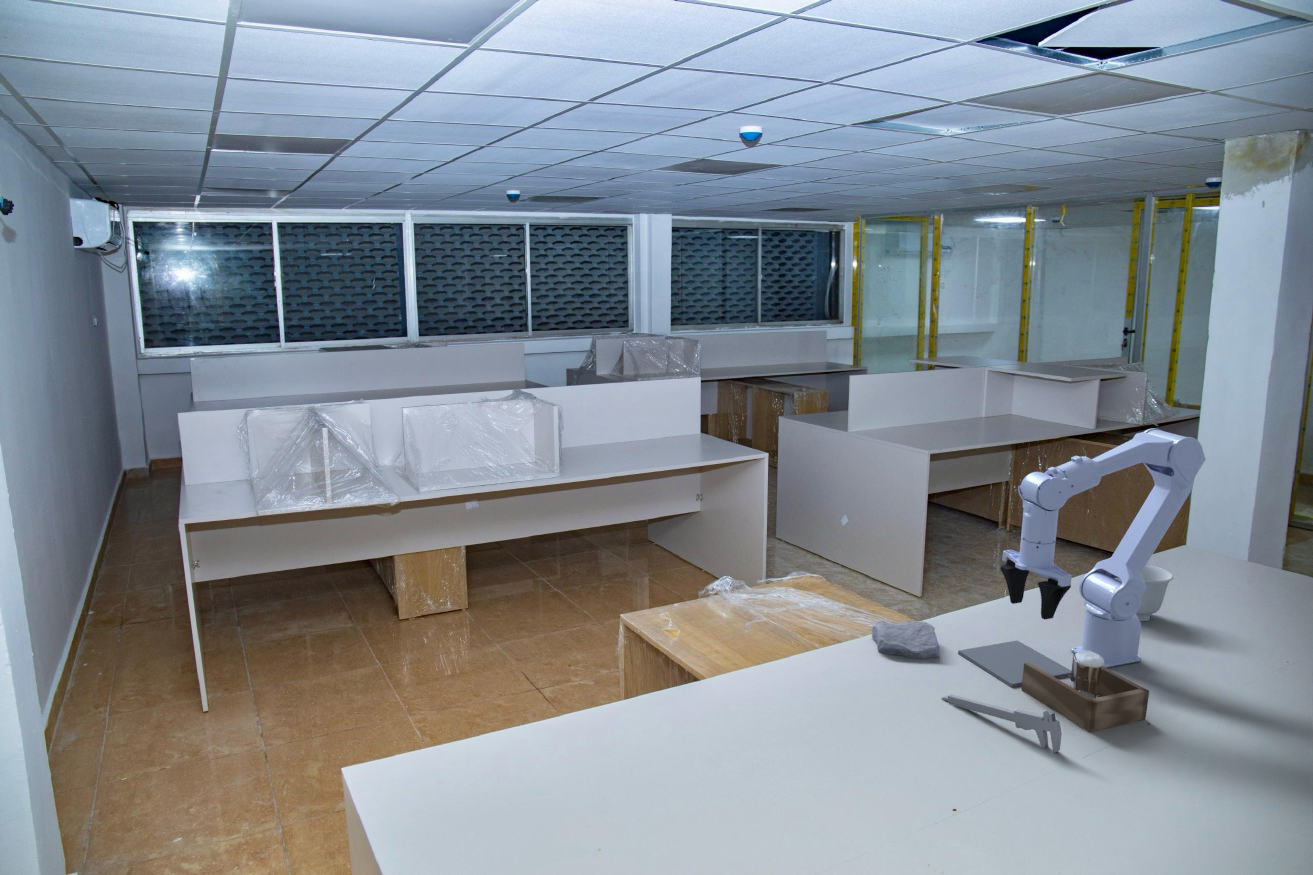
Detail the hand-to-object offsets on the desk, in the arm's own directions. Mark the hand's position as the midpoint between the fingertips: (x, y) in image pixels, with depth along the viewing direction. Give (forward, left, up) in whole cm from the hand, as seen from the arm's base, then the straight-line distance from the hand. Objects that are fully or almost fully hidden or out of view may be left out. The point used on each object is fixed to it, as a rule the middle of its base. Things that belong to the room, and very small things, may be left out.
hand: (1031, 610), depth 157 cm
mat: (+3, 0, -10) cm, 11 cm away
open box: (+3, +15, -10) cm, 19 cm away
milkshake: (+3, +15, -11) cm, 19 cm away
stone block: (+17, -13, -11) cm, 24 cm away
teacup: (-37, -11, -11) cm, 40 cm away
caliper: (+21, +16, -11) cm, 28 cm away
